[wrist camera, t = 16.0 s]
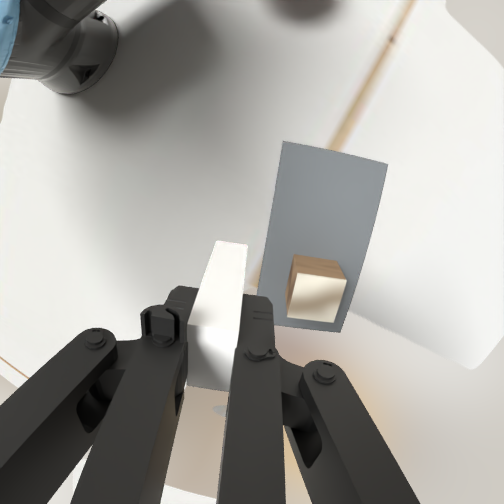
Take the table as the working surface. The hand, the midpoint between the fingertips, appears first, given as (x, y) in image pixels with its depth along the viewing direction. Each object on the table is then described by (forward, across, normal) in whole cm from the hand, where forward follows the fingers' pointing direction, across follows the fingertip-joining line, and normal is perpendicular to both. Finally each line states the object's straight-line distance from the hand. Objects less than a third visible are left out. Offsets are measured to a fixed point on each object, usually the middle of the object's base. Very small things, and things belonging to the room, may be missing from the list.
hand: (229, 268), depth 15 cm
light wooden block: (+23, +12, -15) cm, 30 cm away
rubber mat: (+31, +12, -10) cm, 34 cm away
